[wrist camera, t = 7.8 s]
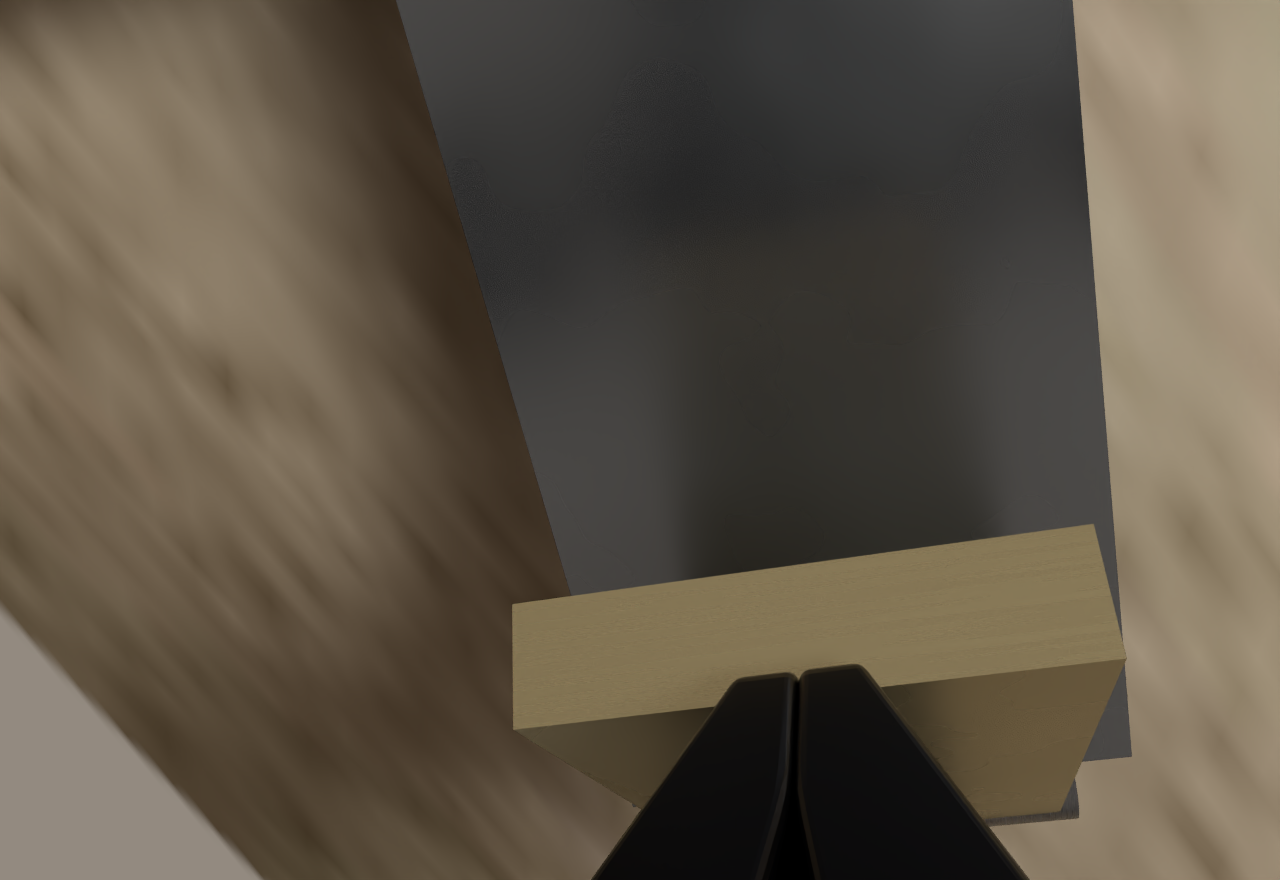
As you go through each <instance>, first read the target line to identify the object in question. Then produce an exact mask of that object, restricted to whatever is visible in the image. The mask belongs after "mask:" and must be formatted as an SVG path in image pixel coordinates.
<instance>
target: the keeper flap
mask: <svg viewBox="0 0 1280 880" xmlns="http://www.w3.org/2000/svg"><path fill="white" fill-rule="evenodd" d="M512 637H513V730H514V731H516V732H517V733H519V734H521V735H522V736H524V737H525V738H527V739H529V740H530V741H532V742H534V743H535V744H537V745H538V746H540V747H542V748H543V749H545V750H547V751H548V752H550V753H551V754H553V755H555V756H556V757H558V758H559V759H561V760H563V761H564V762H566V763H568V764H569V765H571V766H572V767H574V768H576V769H577V770H579V771H581V772H582V773H584V774H585V775H587V776H589V777H590V778H592V779H593V780H595V781H597V782H598V783H600V784H602V785H603V786H605V787H606V788H608V789H610V790H611V791H613V792H615V793H616V794H618V795H619V796H621V797H623V798H624V799H626V800H627V801H629V802H631V803H632V804H634V805H636V806H637V807H639V808H640V809H642V808H643V807H644V805H645V804H646V802H647V801H648V800H649V798H650V797H651V795H652V794H653V793H654V791H655V790H656V788H657V787H658V786H659V784H660V783H661V781H662V780H663V779H664V777H665V776H666V774H667V773H668V772H669V770H670V769H671V767H672V766H673V765H674V763H675V762H676V760H677V759H678V758H679V756H680V755H681V753H682V752H683V751H684V749H685V748H686V746H687V745H688V744H689V742H690V741H691V739H692V738H693V737H694V735H695V734H696V732H697V731H698V730H699V728H700V727H701V725H702V724H703V723H704V721H705V720H706V718H707V717H708V716H709V714H710V713H711V711H712V710H713V709H714V707H715V706H716V704H717V703H718V702H719V700H720V699H721V697H722V696H723V695H724V693H725V692H726V691H727V689H728V688H729V686H730V685H731V684H732V683H733V682H734V681H735V680H737V679H738V678H742V677H747V676H755V675H764V674H772V673H780V672H791V673H793V674H795V675H796V676H797V678H798V679H800V676H801V674H802V673H803V672H805V671H806V670H808V669H813V668H821V667H830V666H838V665H846V664H859V665H862V666H863V667H864V668H865V669H866V670H867V671H868V672H869V673H870V674H871V676H872V677H873V678H874V680H875V681H876V682H877V683H878V685H879V686H880V687H881V689H882V690H883V691H884V692H885V694H886V695H887V696H888V698H889V699H890V700H891V701H892V703H893V704H894V705H895V707H896V708H897V709H898V710H899V712H900V713H901V714H902V716H903V717H904V718H905V719H906V721H907V722H908V723H909V725H910V726H911V727H912V729H913V730H914V731H915V732H916V734H917V735H918V736H919V738H920V739H921V740H922V741H923V743H924V744H925V745H926V747H927V748H928V749H929V750H930V752H931V753H932V754H933V756H934V757H935V758H936V759H937V761H938V762H939V763H940V765H941V766H942V767H943V768H944V770H945V771H946V772H947V774H948V775H949V776H950V777H951V779H952V780H953V781H954V783H955V784H956V785H957V787H958V788H959V789H960V790H961V792H962V793H963V794H964V796H965V797H966V798H967V799H968V801H969V802H970V803H971V805H972V806H973V807H974V808H975V810H976V811H977V812H978V814H979V815H980V816H981V817H982V819H983V820H984V821H985V823H986V824H987V825H988V826H1000V825H1011V824H1022V823H1033V822H1044V821H1055V820H1066V819H1076V818H1079V803H1078V795H1077V788H1076V782H1075V776H1076V774H1077V772H1078V769H1079V767H1080V765H1081V762H1082V760H1083V758H1084V756H1085V753H1086V751H1087V749H1088V746H1089V744H1090V742H1091V739H1092V737H1093V735H1094V733H1095V730H1096V728H1097V726H1098V723H1099V721H1100V719H1101V716H1102V714H1103V712H1104V710H1105V707H1106V705H1107V703H1108V700H1109V698H1110V696H1111V694H1112V691H1113V689H1114V687H1115V684H1116V682H1117V680H1118V677H1119V675H1120V673H1121V671H1122V668H1123V666H1124V664H1125V661H1126V659H1127V658H1126V653H1125V649H1124V645H1123V641H1122V637H1121V633H1120V629H1119V625H1118V621H1117V617H1116V613H1115V609H1114V605H1113V601H1112V596H1111V592H1110V588H1109V584H1108V580H1107V576H1106V572H1105V568H1104V564H1103V560H1102V556H1101V552H1100V548H1099V544H1098V539H1097V535H1096V531H1095V527H1094V524H1089V525H1081V526H1074V527H1067V528H1060V529H1052V530H1045V531H1038V532H1031V533H1023V534H1016V535H1009V536H1002V537H995V538H987V539H980V540H973V541H966V542H958V543H951V544H944V545H937V546H929V547H922V548H915V549H908V550H901V551H893V552H886V553H879V554H872V555H864V556H857V557H850V558H843V559H835V560H828V561H821V562H814V563H807V564H799V565H792V566H785V567H778V568H770V569H763V570H756V571H749V572H741V573H734V574H727V575H720V576H712V577H705V578H698V579H691V580H684V581H676V582H669V583H662V584H655V585H647V586H640V587H633V588H626V589H618V590H611V591H604V592H597V593H590V594H582V595H575V596H568V597H561V598H553V599H546V600H539V601H532V602H524V603H517V604H512Z"/></svg>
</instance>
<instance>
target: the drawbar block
mask: <svg viewBox="0 0 1280 880" xmlns="http://www.w3.org/2000/svg"><path fill="white" fill-rule="evenodd" d="M396 2H397V6H398V9H399V12H400V16H401V19H402V23H403V26H404V29H405V33H406V36H407V40H408V43H409V46H410V50H411V53H412V57H413V60H414V63H415V67H416V70H417V74H418V77H419V80H420V84H421V87H422V91H423V94H424V97H425V101H426V104H427V108H428V111H429V114H430V118H431V121H432V125H433V128H434V131H435V135H436V138H437V142H438V145H439V148H440V152H441V155H442V159H443V162H444V165H445V169H446V172H447V176H448V179H449V182H450V186H451V189H452V193H453V196H454V199H455V203H456V206H457V210H458V213H459V216H460V220H461V223H462V227H463V230H464V233H465V237H466V240H467V244H468V247H469V250H470V254H471V257H472V261H473V264H474V267H475V271H476V274H477V278H478V281H479V284H480V288H481V291H482V295H483V298H484V301H485V305H486V308H487V312H488V315H489V318H490V322H491V325H492V329H493V332H494V335H495V339H496V342H497V346H498V349H499V352H500V356H501V359H502V363H503V366H504V369H505V373H506V376H507V380H508V383H509V386H510V390H511V393H512V397H513V400H514V403H515V407H516V410H517V414H518V417H519V420H520V424H521V427H522V431H523V434H524V437H525V441H526V444H527V448H528V451H529V454H530V458H531V461H532V465H533V468H534V471H535V475H536V478H537V482H538V485H539V488H540V492H541V495H542V499H543V502H544V505H545V509H546V512H547V516H548V519H549V522H550V526H551V529H552V533H553V536H554V539H555V543H556V546H557V550H558V553H559V556H560V560H561V563H562V567H563V570H564V573H565V577H566V580H567V584H568V587H569V590H570V594H571V596H575V595H582V594H590V593H597V592H604V591H611V590H618V589H626V588H633V587H640V586H647V585H655V584H662V583H669V582H676V581H684V580H691V579H698V578H705V577H712V576H720V575H727V574H734V573H741V572H749V571H756V570H763V569H770V568H778V567H785V566H792V565H799V564H807V563H814V562H821V561H828V560H835V559H843V558H850V557H857V556H864V555H872V554H879V553H886V552H893V551H901V550H908V549H915V548H922V547H929V546H937V545H944V544H951V543H958V542H966V541H973V540H980V539H987V538H995V537H1002V536H1009V535H1016V534H1023V533H1031V532H1038V531H1045V530H1052V529H1060V528H1067V527H1074V526H1081V525H1089V524H1094V527H1095V531H1096V535H1097V539H1098V544H1099V548H1100V552H1101V556H1102V560H1103V564H1104V568H1105V572H1106V576H1107V580H1108V584H1109V588H1110V592H1111V596H1112V601H1113V605H1114V609H1115V613H1116V617H1117V621H1118V625H1119V629H1120V633H1121V637H1122V625H1121V612H1120V600H1119V587H1118V574H1117V562H1116V549H1115V536H1114V523H1113V511H1112V498H1111V485H1110V472H1109V460H1108V447H1107V434H1106V422H1105V409H1104V396H1103V383H1102V371H1101V358H1100V345H1099V333H1098V320H1097V307H1096V294H1095V282H1094V269H1093V256H1092V243H1091V231H1090V218H1089V205H1088V193H1087V180H1086V167H1085V154H1084V142H1083V129H1082V116H1081V104H1080V91H1079V78H1078V65H1077V53H1076V40H1075V27H1074V14H1073V2H1072V0H396ZM1122 641H1123V638H1122ZM1123 757H1132V752H1131V740H1130V727H1129V714H1128V701H1127V689H1126V676H1125V664H1124V666H1123V668H1122V671H1121V673H1120V675H1119V677H1118V680H1117V682H1116V684H1115V687H1114V689H1113V691H1112V694H1111V696H1110V698H1109V700H1108V703H1107V705H1106V707H1105V710H1104V712H1103V714H1102V716H1101V719H1100V721H1099V723H1098V726H1097V728H1096V730H1095V733H1094V735H1093V737H1092V739H1091V742H1090V744H1089V746H1088V749H1087V751H1086V753H1085V756H1084V758H1083V760H1082V762H1083V761H1093V760H1103V759H1113V758H1123ZM632 805H633V807H637V806H636V805H634V804H632Z"/></svg>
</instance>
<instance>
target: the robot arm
mask: <svg viewBox="0 0 1280 880" xmlns="http://www.w3.org/2000/svg"><path fill="white" fill-rule="evenodd" d="M591 880H1030V879H1029V878H1028V877H1027V875H1026V874H1025V873H1024V872H1023V870H1022V869H1021V868H1020V866H1019V865H1018V864H1017V863H1016V861H1015V860H1014V859H1013V857H1012V856H1011V855H1010V854H1009V852H1008V851H1007V850H1006V848H1005V847H1004V846H1003V845H1002V843H1001V842H1000V841H999V839H998V838H997V837H996V835H995V834H994V833H993V832H992V830H991V829H990V828H989V826H988V825H987V824H986V823H985V821H984V820H983V819H982V817H981V816H980V815H979V814H978V812H977V811H976V810H975V808H974V807H973V806H972V805H971V803H970V802H969V801H968V799H967V798H966V797H965V796H964V794H963V793H962V792H961V790H960V789H959V788H958V787H957V785H956V784H955V783H954V781H953V780H952V779H951V777H950V776H949V775H948V774H947V772H946V771H945V770H944V768H943V767H942V766H941V765H940V763H939V762H938V761H937V759H936V758H935V757H934V756H933V754H932V753H931V752H930V750H929V749H928V748H927V747H926V745H925V744H924V743H923V741H922V740H921V739H920V738H919V736H918V735H917V734H916V732H915V731H914V730H913V729H912V727H911V726H910V725H909V723H908V722H907V721H906V719H905V718H904V717H903V716H902V714H901V713H900V712H899V710H898V709H897V708H896V707H895V705H894V704H893V703H892V701H891V700H890V699H889V698H888V696H887V695H886V694H885V692H884V691H883V690H882V689H881V687H880V686H879V685H878V683H877V682H876V681H875V680H874V678H873V677H872V676H871V674H870V673H869V672H868V671H867V670H866V669H865V668H864V667H863V666H862V665H859V664H846V665H838V666H830V667H821V668H813V669H808V670H806V671H805V672H803V673H802V674H801V676H800V679H798V678H797V676H796V675H795V674H793V673H791V672H780V673H772V674H764V675H755V676H747V677H742V678H738V679H737V680H735V681H734V682H733V683H732V684H731V685H730V686H729V688H728V689H727V691H726V692H725V693H724V695H723V696H722V697H721V699H720V700H719V702H718V703H717V704H716V706H715V707H714V709H713V710H712V711H711V713H710V714H709V716H708V717H707V718H706V720H705V721H704V723H703V724H702V725H701V727H700V728H699V730H698V731H697V732H696V734H695V735H694V737H693V738H692V739H691V741H690V742H689V744H688V745H687V746H686V748H685V749H684V751H683V752H682V753H681V755H680V756H679V758H678V759H677V760H676V762H675V763H674V765H673V766H672V767H671V769H670V770H669V772H668V773H667V774H666V776H665V777H664V779H663V780H662V781H661V783H660V784H659V786H658V787H657V788H656V790H655V791H654V793H653V794H652V795H651V797H650V798H649V800H648V801H647V802H646V804H645V805H644V807H643V808H642V809H641V811H640V812H639V814H638V815H637V816H636V818H635V819H634V820H633V822H632V823H631V825H630V826H629V827H628V829H627V830H626V832H625V833H624V834H623V836H622V837H621V839H620V840H619V841H618V843H617V844H616V846H615V847H614V848H613V850H612V851H611V853H610V854H609V855H608V857H607V858H606V860H605V861H604V862H603V864H602V865H601V867H600V868H599V869H598V871H597V872H596V874H595V875H594V876H593V878H592V879H591Z"/></svg>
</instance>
